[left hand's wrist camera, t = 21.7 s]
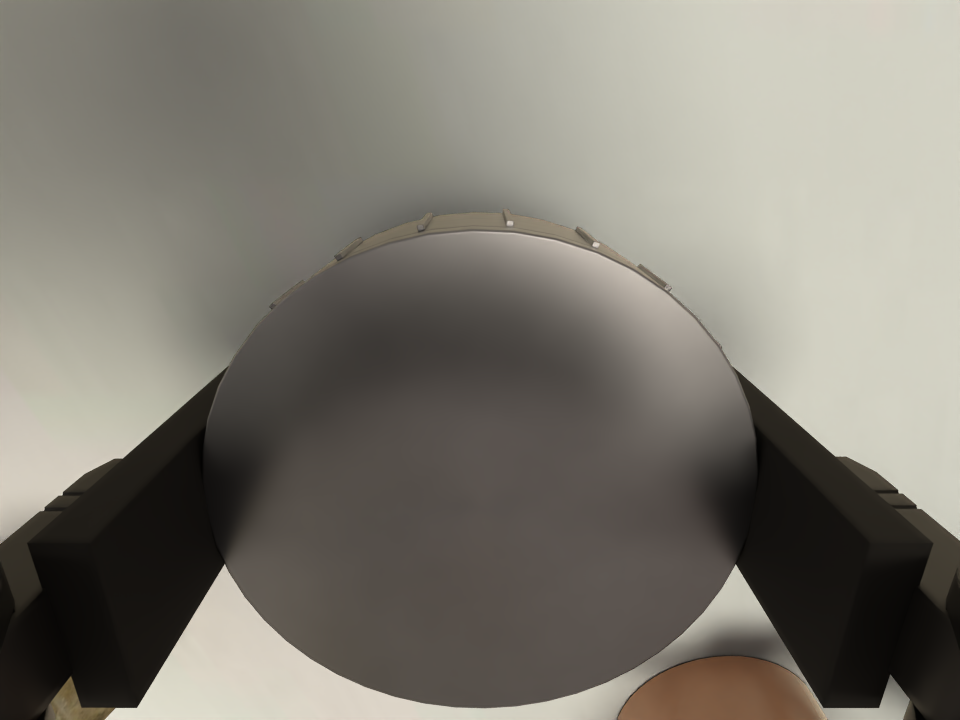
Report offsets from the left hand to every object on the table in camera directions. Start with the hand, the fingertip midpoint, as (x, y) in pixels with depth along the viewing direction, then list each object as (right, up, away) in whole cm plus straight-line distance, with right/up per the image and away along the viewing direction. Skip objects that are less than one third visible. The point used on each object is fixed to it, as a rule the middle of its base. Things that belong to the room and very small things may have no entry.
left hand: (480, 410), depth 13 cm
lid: (0, -1, -3) cm, 4 cm away
